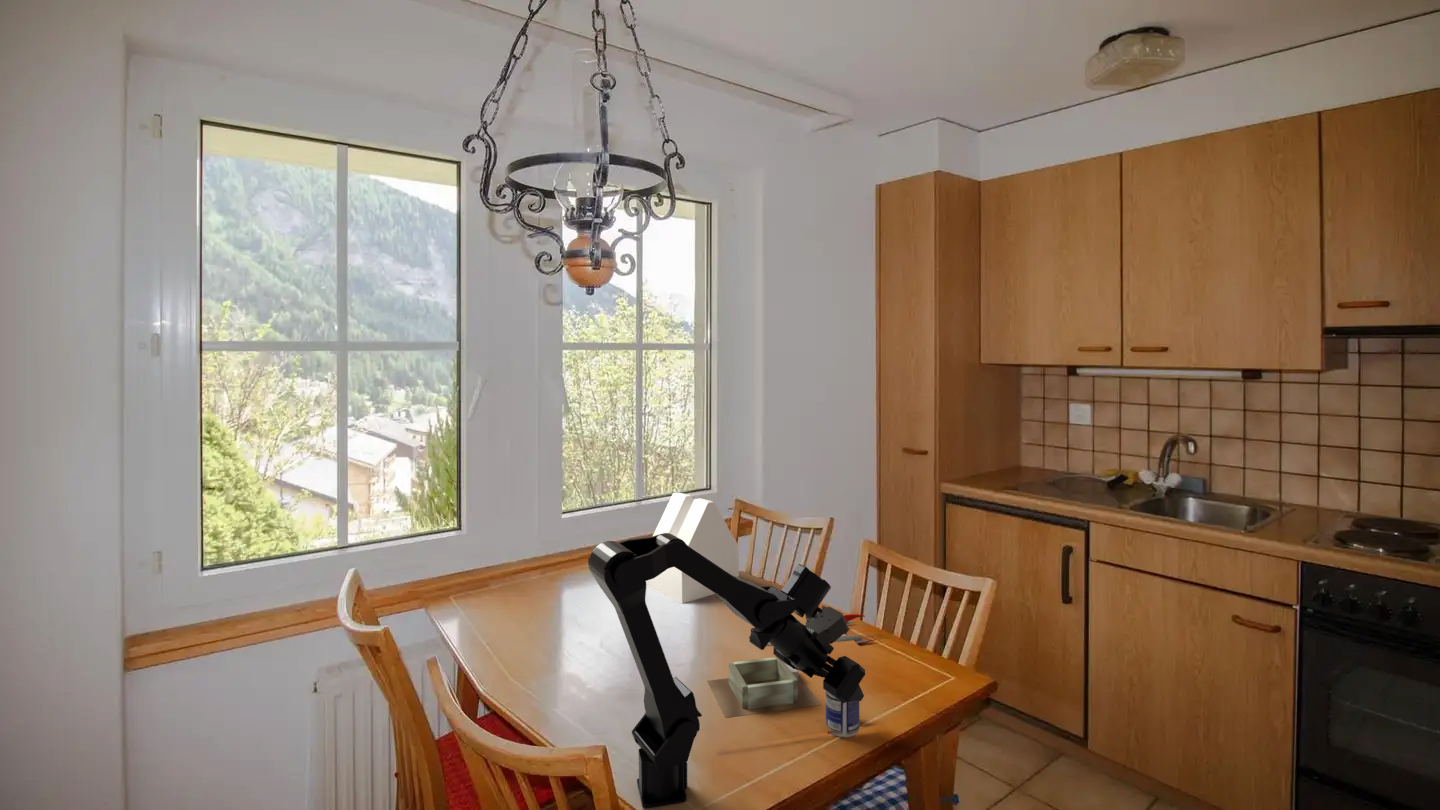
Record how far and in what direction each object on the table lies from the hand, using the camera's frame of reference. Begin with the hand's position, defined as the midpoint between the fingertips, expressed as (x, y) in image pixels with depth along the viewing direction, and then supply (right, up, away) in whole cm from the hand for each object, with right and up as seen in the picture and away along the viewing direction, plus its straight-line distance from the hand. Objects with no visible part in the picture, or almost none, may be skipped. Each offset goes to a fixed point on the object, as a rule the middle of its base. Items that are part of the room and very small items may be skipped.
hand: (844, 686), depth 121 cm
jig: (-13, -7, +12) cm, 19 cm away
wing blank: (-8, -5, +17) cm, 20 cm away
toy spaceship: (-1, -5, +37) cm, 37 cm away
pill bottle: (0, -8, +1) cm, 8 cm away
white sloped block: (-29, -2, +72) cm, 77 cm away
